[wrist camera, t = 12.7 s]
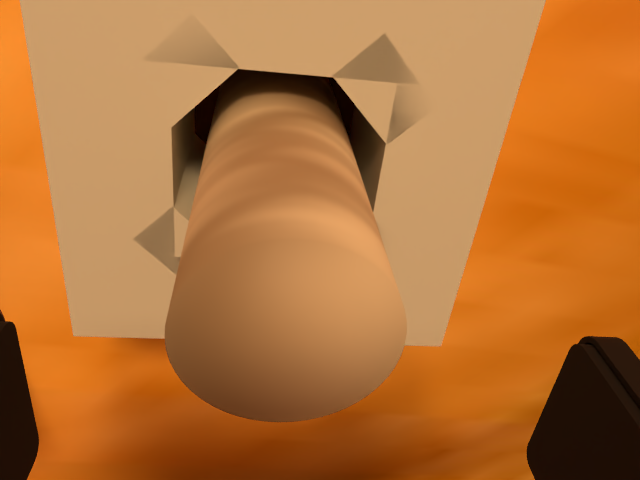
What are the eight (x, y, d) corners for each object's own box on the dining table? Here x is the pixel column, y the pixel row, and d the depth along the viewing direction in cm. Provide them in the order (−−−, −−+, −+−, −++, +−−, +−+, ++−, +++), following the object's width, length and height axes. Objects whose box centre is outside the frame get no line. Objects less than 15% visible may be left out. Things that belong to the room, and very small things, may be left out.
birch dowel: (342, 54, 19) (430, 246, 9) (328, 167, 21) (384, 423, 11) (217, 42, 18) (159, 231, 8) (216, 159, 21) (167, 421, 11)
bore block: (480, -63, 17) (558, -44, 13) (406, 256, 24) (441, 346, 19) (78, -113, 16) (1, -113, 11) (113, 242, 22) (73, 336, 18)
